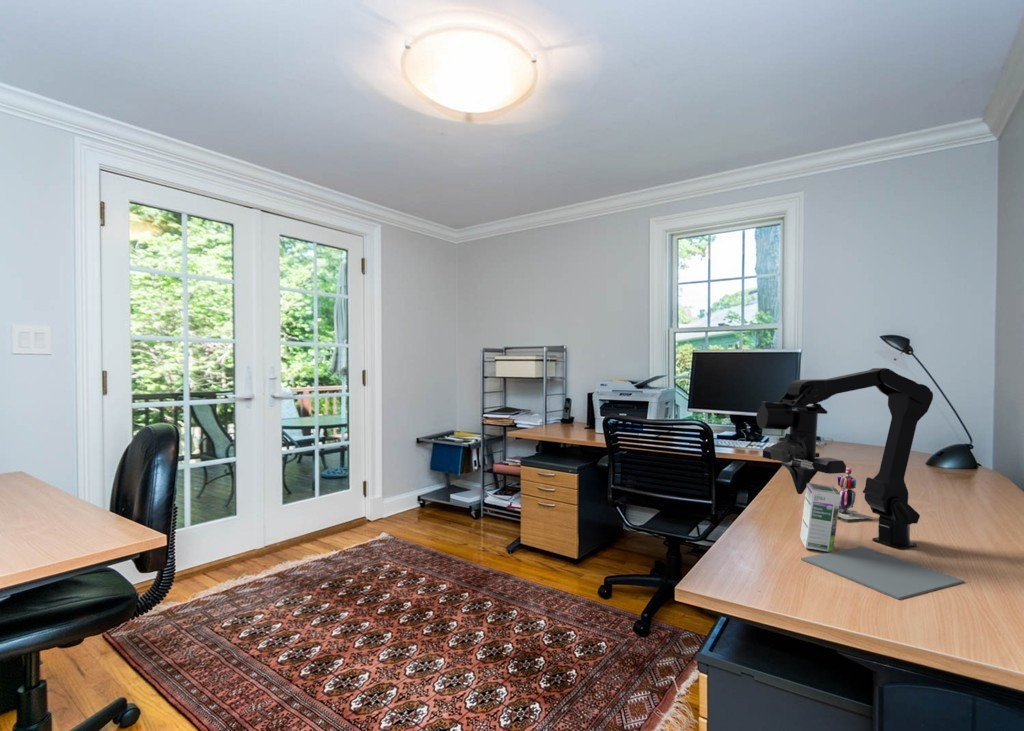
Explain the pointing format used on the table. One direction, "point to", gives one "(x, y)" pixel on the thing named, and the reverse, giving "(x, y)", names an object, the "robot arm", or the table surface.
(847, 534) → the table surface
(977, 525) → the table surface
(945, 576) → the topple mat
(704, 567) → the table surface
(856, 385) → the robot arm
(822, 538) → the syrup box
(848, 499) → the statue
